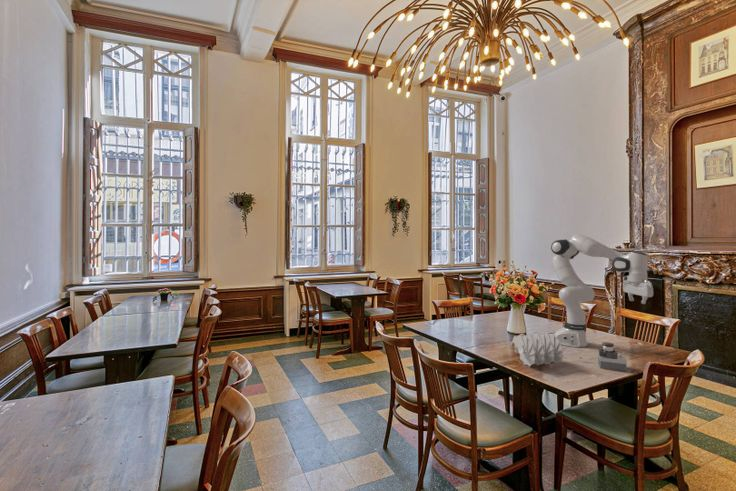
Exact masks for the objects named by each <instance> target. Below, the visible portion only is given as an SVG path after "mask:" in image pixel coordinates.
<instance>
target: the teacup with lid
mask: <svg viewBox="0 0 736 491" xmlns="http://www.w3.org/2000/svg"><path fill="white" fill-rule="evenodd" d="M520 334H521V335H522V336H524V335H525V334H524V333H520ZM515 336H516V335H515ZM517 336H518V335H517ZM517 336H516V337H517ZM510 347H511V348H512V349H513V350H514V352H515V354H518V355H520V354H519V352H518V347H517V346H516V345H515V344H514V343H513V341H511V343H510Z"/></svg>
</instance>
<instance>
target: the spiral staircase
mask: <svg viewBox="0 0 736 491" xmlns="http://www.w3.org/2000/svg"><path fill="white" fill-rule="evenodd" d="M521 334H522V333H520V334H519V335H517V337H516V335H514V336H513V338H512V340H511V342H513V345H514V346H515V345H516V346H517V347H518V352H519V354H518V355H519V359H520V360H521V362H523V365H527V366H528V367H530V368H531V367H532V365H536V366H537V367H539V366H540V365H544V364H547V365H550V364H551V363H555V364H556V365H557V364H559V362H562V361H563V359H564V353H563V352H564V348H563V345H561V343H560V341H559V340H558V339H557V338H556V337H555V335H554V334H552V333H549V332H548V331H547V332H545V333H539V332H536V333H535V334H534V335H533V334H532V333H530V334H528V335H526V334H524V336H522V335H521Z"/></svg>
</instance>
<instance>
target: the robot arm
mask: <svg viewBox="0 0 736 491" xmlns="http://www.w3.org/2000/svg"><path fill="white" fill-rule="evenodd" d="M550 250H551V251H552V253H553V254H554V255H555V256H553V258H552V259H551V263H552V266H553V270H554V272H555V273H556V276H557V278H558V279H559V281H560V283H561V284H563V285H565V286H566V287H562V288H561V289H560V290H559V292H558V298H559V300H560V301H561V302H563V304H564V307H565V309H566V321H564V320H563V321H562V326H563V327H561V328H559V329H558V330H556V331H555V333H554V334H553V335H555V337H556V338H557V339H558V340H559V341H560V343H561V346H565V347H566V346H567V347H570V348H571V347H572V348H582V347H583V348H584V347H587V346H588V341H587V336H586V333H587V323H586V320H587V319H586V315H587V314H586V311H585V309H583V308H582V307H581V306H582V305H581V303H588V302H591V301H593V300H594V298H595V296H596V293H595V290H594V289H593V287H591V286H589V285H587V284H586V283H585V282H584V281H583V280H582V279H581V278H579V276H578V275H577V273H576V271H575V269H574V267H573V265H572V264H571V261H570V260H572V259H573V260H574V258H575V257H576V256H577V255H579V253H581V254H583V255H585V256H587V257H592V258H593V257H595V258H605V259H606V258H607V259H609V260H612V264H611V265H612V268H613V270H614V271H616V272H618V273H619V272H620V273H628V275H625V276H622V281H623V283H622V291H623V292H624V293H627V295H628V300H629V301H630V302H635V298H634V297H633V296H634V295H636V296H641V298H642V300H640V304H642V305H646V303H647V300H648V299H649V298H652V297H653V296H654V286H653V283H652V282H651V280H648V267H649V266H648V264H649V261H648V255H647V254H646V253H645V252H643V251H634V250H633V251H630V252H629V253H627V254H625V253H623V252H621V251H618V250H616V249H613V248H611V247H609V246H607V245H605V244H603V243H601V242H599V241H597V240H595V239H593V238H592V237H589V236H587V235H584V234H579V233H577V234H574V235H573V236H571V238H570V239H569V240H568V239H556V240H554V241H553V242H552V243H551V246H550Z"/></svg>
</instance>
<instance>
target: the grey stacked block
mask: <svg viewBox="0 0 736 491" xmlns="http://www.w3.org/2000/svg"><path fill="white" fill-rule="evenodd" d="M597 358H598V362H597V363H598V366H599V368H600V369H604V370H611V371H612V370H613V371H620V372H627V362H628V361H627V359H626V357H625V356H624V355H623V354H620V353H619V354H618V351H617V350H615V349H613V353H609V352H604V351H603V347H602V348H598V357H597Z"/></svg>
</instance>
